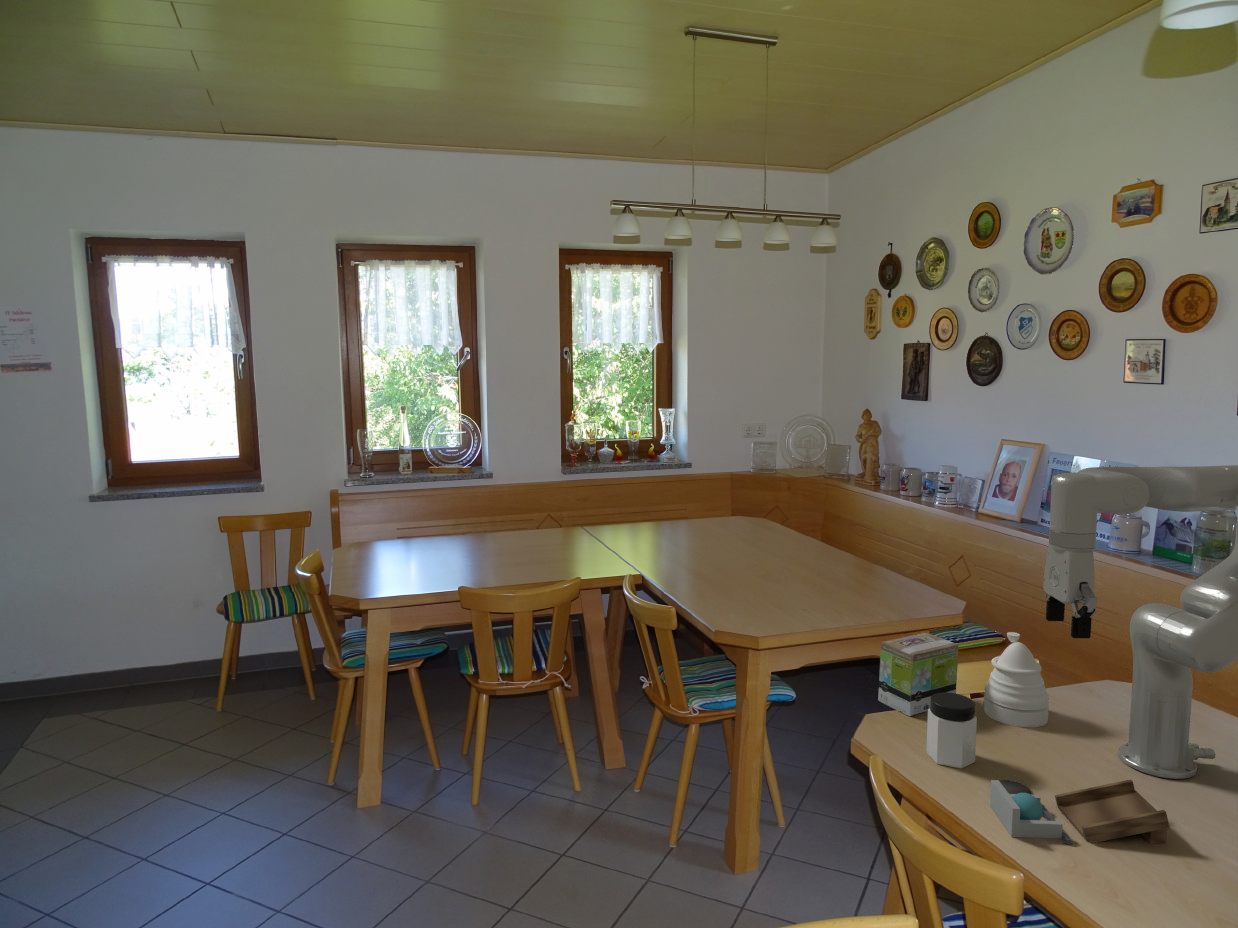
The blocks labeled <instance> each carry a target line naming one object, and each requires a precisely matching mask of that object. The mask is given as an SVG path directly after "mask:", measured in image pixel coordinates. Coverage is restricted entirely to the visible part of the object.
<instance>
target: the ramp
mask: <svg viewBox="0 0 1238 928" xmlns="http://www.w3.org/2000/svg"><path fill="white" fill-rule="evenodd" d="M1054 798H1055V803H1056V807H1057V808H1058V811H1060V812H1061V813H1062V815H1063V816H1064V817H1065V818H1066V819H1067V820H1068V822H1070V824H1071V825H1072V826H1073V827H1074V828H1075V830H1076V831H1077V832H1078V834H1080V836H1081V837H1082V838H1083V840H1085V841H1086V842H1088V843H1090V842H1091V843H1099V842H1104V841H1109V840H1114V839H1120V838H1125V837H1129V836H1133V835H1134V836H1135V835H1140V834H1141V836H1143V838H1144V839H1146V840H1147V842H1148V843H1149V844H1166V843H1167V829H1169V828H1170V823H1169V818H1168V815H1167V811H1166V810H1165V809H1161V810H1157V809H1156V808H1155V807H1154V806H1153V805H1152V804H1151V803H1150V802H1149V801H1148V800H1147V799H1145V798H1144V796H1142V795H1141V794H1140V793H1139V792H1138V791H1137V790H1136V789H1135V785H1134V781H1133V780H1132V779H1126V780H1122V781H1121V780H1120V781H1118V782H1117V781H1116V782H1113V783H1108V784H1103V785H1097V786H1093V787H1088V788H1084V789H1083V788H1082V789H1079V790H1077V789H1076V790H1073V791H1069V792H1063V793H1059V794H1055V795H1054Z"/></svg>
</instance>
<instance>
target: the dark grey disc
mask: <svg viewBox="0 0 1238 928" xmlns="http://www.w3.org/2000/svg"><path fill="white" fill-rule="evenodd" d="M998 780H999V782H1000V783H1001V784H1002V786H1003V787H1004V788H1005V789H1006V791H1007V792H1008V793H1009V794H1018V793H1028V794H1031V795H1033V792H1032V790H1031V789H1030V788H1029V787H1028V786H1026V785H1025V784H1024V783H1022V782H1018V781H1015V780H1011V779H998Z"/></svg>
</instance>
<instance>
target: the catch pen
mask: <svg viewBox="0 0 1238 928" xmlns="http://www.w3.org/2000/svg"><path fill="white" fill-rule="evenodd" d="M999 780H1000V779H991V782H990V783H991V784H990V802H989V803H990V805H989V807H990V809H991V810H992V812H993V813H994V814H995V815H996V817H997V819H998V820H999V821H1000V823H1001V824H1002V826H1003V827H1004V829H1005V830H1006V831H1007V833H1008V834H1009V836H1010V838H1011V837H1012V838H1027V839H1028V838H1031V839H1032V838H1033V839H1058V840H1059V839H1061V840H1062V829H1063V826H1064V825H1063V822H1061V820H1056V821H1047V820H1046V819H1045V820H1041V819H1040V820H1020V808H1019V806H1018V805H1017V804H1016V803H1015V801H1014V800H1013V799H1012V797H1013V796H1014V795H1016V794H1009V793H1008V792H1007V791H1006V789H1005V788H1004V787H1003V786H1002V784H1001V783H1000V782H999ZM1032 795H1033V796H1034V797H1035V798H1037V800H1038V801H1039V802H1041V797H1040V795H1038V794H1032Z"/></svg>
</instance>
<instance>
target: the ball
mask: <svg viewBox="0 0 1238 928" xmlns="http://www.w3.org/2000/svg"><path fill="white" fill-rule="evenodd" d="M1033 795H1034V794H1032V795H1031V794H1028V793H1018V794H1016V795H1014V796H1013V797H1012V799H1013V800H1014V801H1015V803H1016V804H1017V805H1018V806H1019V808H1020V820H1041V819H1042V817H1043V815H1042V813H1043V810H1042V806H1041V804H1040V802H1041V801H1040V802H1039V801H1038V800H1037V798H1035V797H1034V796H1033Z"/></svg>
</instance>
